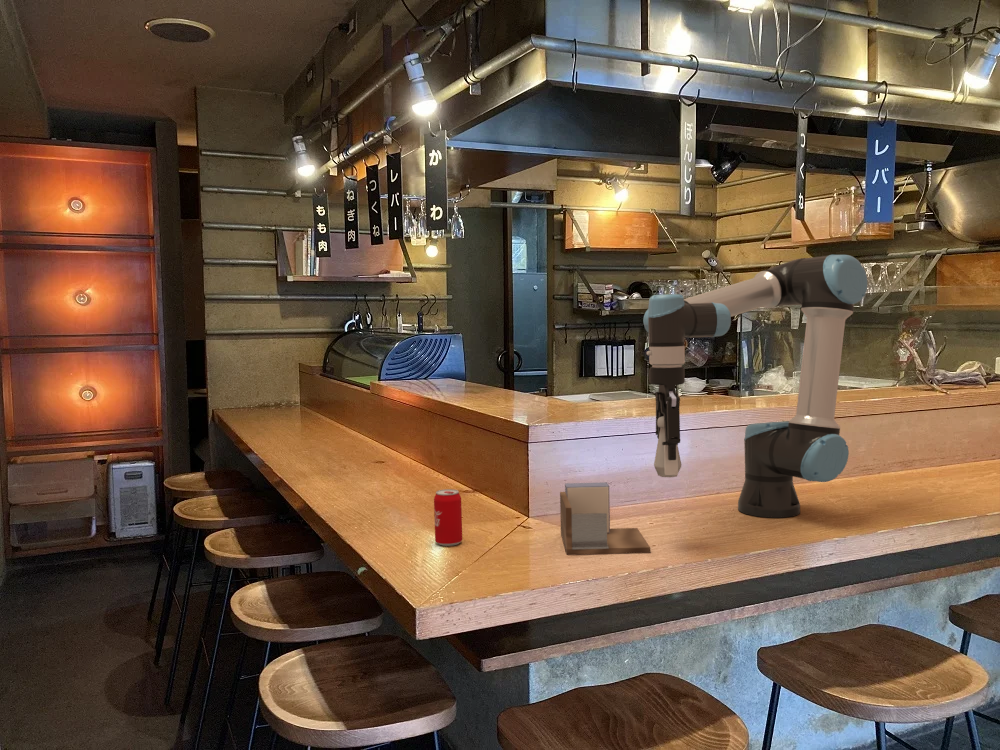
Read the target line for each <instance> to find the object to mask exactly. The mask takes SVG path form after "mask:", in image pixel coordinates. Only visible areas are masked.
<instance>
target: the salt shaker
mask: <svg viewBox="0 0 1000 750" xmlns="http://www.w3.org/2000/svg"><path fill="white" fill-rule="evenodd" d="M657 425H658V427H660V433H659V439H658V438H657V446H656V452H655V457H654V463H653V466H654V469H655V472H656V474H657V476H659V477H661V478H675V477H678V475H665V468H664V445H662V442H665V427H664V416H662V417H659V418H658V421H657ZM671 438H673V437H671ZM681 468H682V460H681V456H680V451H679V449H678V473H680V470H681Z"/></svg>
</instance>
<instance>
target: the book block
mask: <svg viewBox="0 0 1000 750" xmlns="http://www.w3.org/2000/svg"><path fill="white" fill-rule="evenodd" d="M564 492H565V493H566V495H567V498H568V500H569V503H570V505H571V511H572V514H577V513H606V514H607V533H610V529H611V524H610V522H611V515H610V511H611V509H610V506H611V505H610V503H611V501H610V484H609V483H608V481H607V482H605V481H603V482H572V483H571V482H568V483H564Z"/></svg>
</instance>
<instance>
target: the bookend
mask: <svg viewBox="0 0 1000 750" xmlns="http://www.w3.org/2000/svg"><path fill="white" fill-rule="evenodd" d="M572 549H609V547H608V545H607V514H606V513H577V514H572Z"/></svg>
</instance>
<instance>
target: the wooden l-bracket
mask: <svg viewBox="0 0 1000 750" xmlns="http://www.w3.org/2000/svg"><path fill="white" fill-rule="evenodd" d="M559 503H560V504H559V506H560V508H559V512H560V513H559V514H560V537H561V540H562V543H563V547H564V550H565V554H566V556H567V555H568V556H570V555H573V556H575V555H578V556H579V555H612V554H613V555H614V554H615V555H616V554H618V555H619V554H620V555H621V554H651V546H650V545H649V543H648V541H647V540H646V538H645V537H644V536H643V534H642V533H641V531H640V529H639V528H638V527H624V528H623V527H621V528H610V533H607V545H608V547H609V549H572V511H571V505H570V503H569V500H568V498H567V495H566V493H565V491H560V492H559Z"/></svg>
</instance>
